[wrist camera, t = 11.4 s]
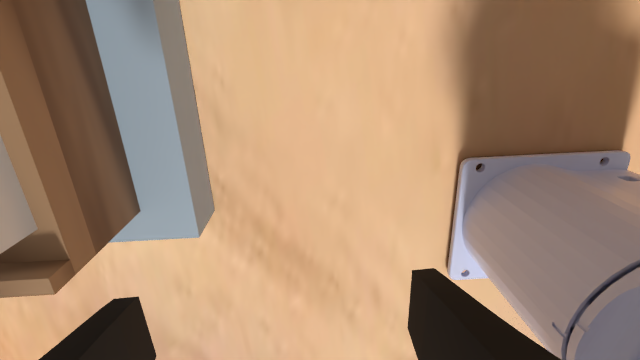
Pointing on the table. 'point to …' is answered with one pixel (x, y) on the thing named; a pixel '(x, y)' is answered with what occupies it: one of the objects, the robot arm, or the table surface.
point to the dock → (155, 115)
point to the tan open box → (59, 143)
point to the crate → (12, 205)
